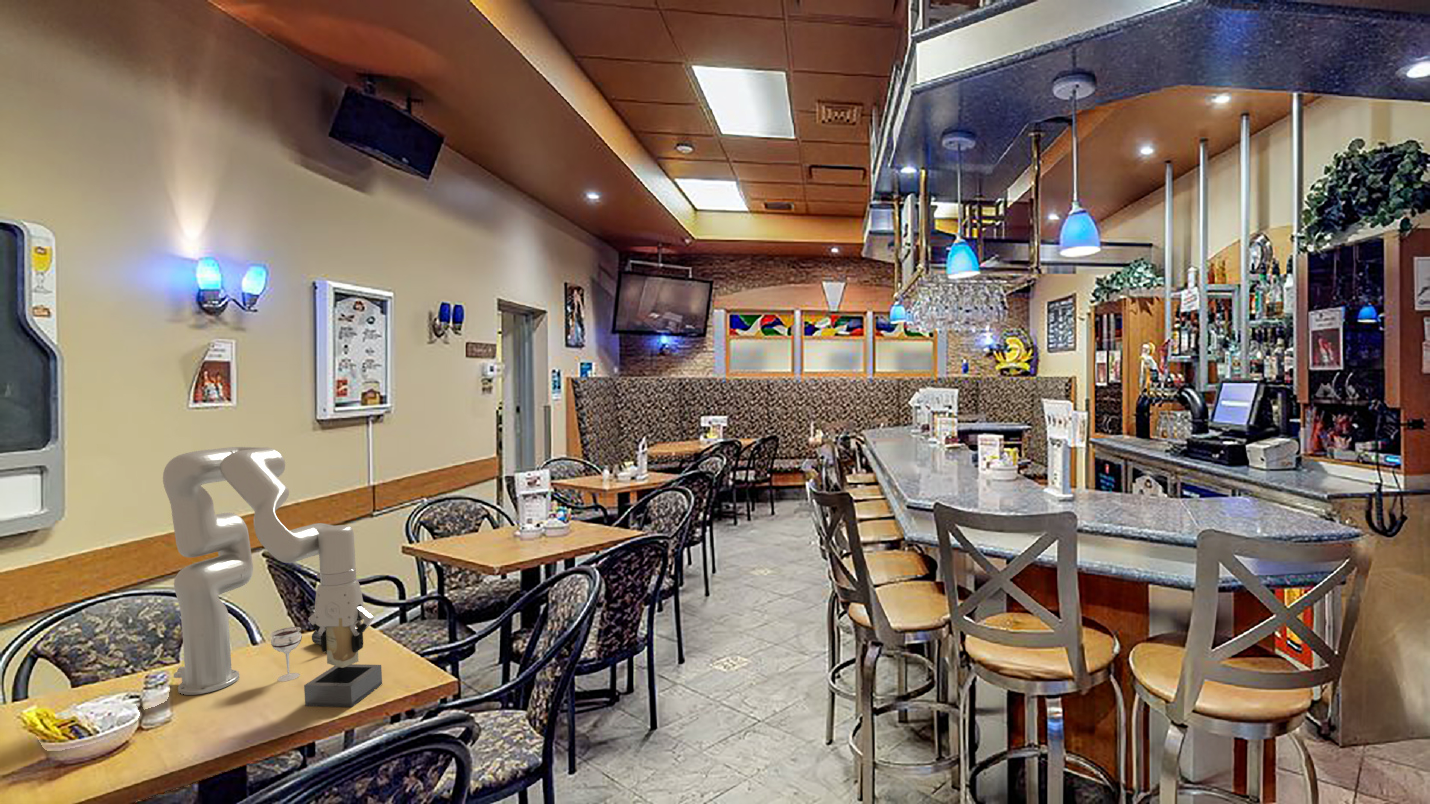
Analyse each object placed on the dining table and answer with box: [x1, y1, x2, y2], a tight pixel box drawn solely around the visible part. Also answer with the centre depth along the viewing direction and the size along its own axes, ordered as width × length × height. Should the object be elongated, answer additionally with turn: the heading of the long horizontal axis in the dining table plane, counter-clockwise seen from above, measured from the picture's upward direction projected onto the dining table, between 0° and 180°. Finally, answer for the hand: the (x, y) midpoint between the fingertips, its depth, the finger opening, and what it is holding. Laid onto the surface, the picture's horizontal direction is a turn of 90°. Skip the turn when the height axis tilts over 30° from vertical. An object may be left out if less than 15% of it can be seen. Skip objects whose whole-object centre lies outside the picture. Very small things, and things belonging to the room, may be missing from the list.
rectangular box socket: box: [303, 663, 383, 708], centre depth 166 cm, size 12×12×5 cm
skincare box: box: [326, 618, 359, 668], centre depth 165 cm, size 6×4×12 cm
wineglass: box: [270, 626, 303, 682], centre depth 177 cm, size 7×7×12 cm
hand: (342, 649), depth 165 cm, fingers closed on skincare box, 7 cm apart
